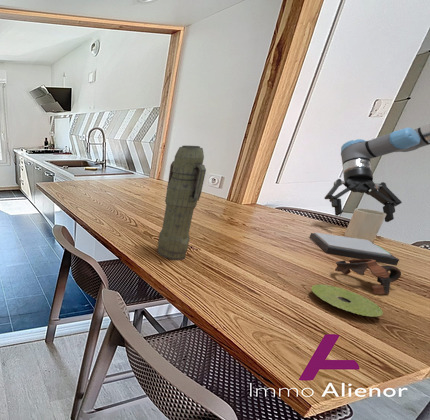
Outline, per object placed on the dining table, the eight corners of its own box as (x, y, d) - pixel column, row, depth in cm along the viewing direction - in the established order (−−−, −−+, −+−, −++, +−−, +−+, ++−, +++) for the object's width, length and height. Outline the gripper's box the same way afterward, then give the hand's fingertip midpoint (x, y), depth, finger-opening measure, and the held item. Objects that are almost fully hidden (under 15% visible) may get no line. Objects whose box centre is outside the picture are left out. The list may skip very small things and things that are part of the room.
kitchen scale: (368, 246, 87) (372, 239, 87) (396, 265, 76) (400, 257, 75) (309, 237, 95) (311, 231, 94) (326, 253, 83) (329, 245, 82)
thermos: (166, 243, 88) (184, 144, 77) (195, 259, 78) (221, 147, 67) (147, 247, 85) (163, 145, 74) (175, 264, 75) (198, 148, 63)
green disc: (306, 284, 66) (308, 278, 65) (371, 303, 59) (374, 296, 58) (311, 307, 58) (314, 300, 57) (387, 331, 51) (391, 324, 50)
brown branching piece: (365, 297, 62) (352, 265, 63) (331, 290, 71) (321, 262, 72) (423, 291, 59) (409, 257, 61) (381, 284, 69) (369, 255, 70)
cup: (366, 236, 96) (378, 210, 93) (378, 243, 90) (392, 216, 86) (340, 232, 99) (350, 207, 96) (350, 239, 93) (362, 212, 90)
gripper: (321, 164, 104) (324, 207, 96) (410, 169, 93) (422, 218, 85) (312, 174, 110) (314, 215, 102) (394, 180, 99) (403, 227, 91)
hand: (363, 217), depth 94 cm, fingers open, 13 cm apart
